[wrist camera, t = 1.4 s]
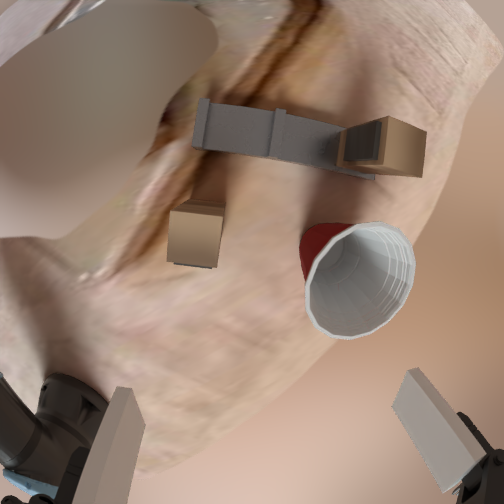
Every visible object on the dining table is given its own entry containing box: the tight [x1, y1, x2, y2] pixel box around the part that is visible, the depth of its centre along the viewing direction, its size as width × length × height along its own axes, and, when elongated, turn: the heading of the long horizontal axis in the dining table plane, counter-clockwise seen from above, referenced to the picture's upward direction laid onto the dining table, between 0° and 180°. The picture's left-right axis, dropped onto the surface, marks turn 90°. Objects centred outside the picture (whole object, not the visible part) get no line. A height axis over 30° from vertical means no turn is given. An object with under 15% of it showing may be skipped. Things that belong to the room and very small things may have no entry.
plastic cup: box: [299, 221, 416, 340], centre depth 26 cm, size 11×11×12 cm
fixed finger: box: [336, 116, 427, 178], centre depth 23 cm, size 4×4×10 cm
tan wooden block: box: [167, 199, 225, 269], centre depth 26 cm, size 4×4×10 cm
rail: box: [192, 98, 375, 180], centre depth 27 cm, size 20×5×4 cm, turn 82°
